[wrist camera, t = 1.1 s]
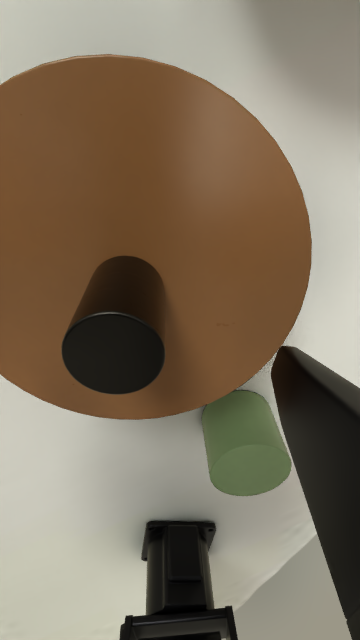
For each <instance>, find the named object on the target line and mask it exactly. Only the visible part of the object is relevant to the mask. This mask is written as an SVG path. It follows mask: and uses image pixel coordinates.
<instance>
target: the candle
mask: <svg viewBox="0 0 360 640" xmlns="http://www.w3.org/2000/svg"><path fill="white" fill-rule="evenodd" d="M202 426H203V432H204V439H205V446H206V453H207V460H208V467H209V474H210V479H211V482H212V483H213V485H214V486H215V487H216V488H217V489H219V490H220V491H222V492H224V493H227V494H230V495H235V496H252V495H257V494H261V493H265V492H267V491H270V490H272V489H274V488H276V487H277V486H279V485H280V484H281V483H282V482H283V481H285V479H286V478H287V477H288V475H289V474H290V471H291V459H290V457H289V454H288V452H287V449H286V447H285V444H284V442H283V439H282V437H281V434H280V431H279V429H278V426H277V424H276V421H275V419H274V416H273V414H272V411H271V409H270V406H269V404H268V402H267V401H266V400H265V399H264V398H263V397H262V396H260V395H258V394H256V393H254V392H250V391H232V392H230V393H229V394H227V395H225V396H223V397H221V398H219V399H217V400H216V401H214V402H212V403H209V404H208V405H207V406H206V407H205V409H204V411H203V414H202Z"/></svg>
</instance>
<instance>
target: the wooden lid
mask: <svg viewBox="0 0 360 640" xmlns="http://www.w3.org/2000/svg"><path fill="white" fill-rule="evenodd" d="M311 245H312V240H311V232H310V224H309V216H308V212H307V208H306V205H305V201H304V197H303V193H302V190H301V188H300V186H299V183H298V181H297V179H296V176H295V174H294V172H293V169H292V167H291V165H290V163H289V162H288V160H287V159H286V157H285V155H284V154H283V152H282V150H281V149H280V147H279V146H278V144H277V142H276V141H275V140H274V139H273V137H272V136H271V135H270V134H269V133H268V131H267V130H266V129H265V128H264V127H263V125H262V124H261V123H260V122H259V121H258V119H257V118H256V117H254V116H253V115H252V114H251V113H250V112H249V111H248V110H246V109H245V108H244V107H243V106H242V105H241V104H240V103H239V102H237V101H236V100H235V99H234V98H233V97H231V96H230V95H228V94H227V93H225V92H224V91H222V90H220V89H219V88H217V87H216V86H214V85H213V84H211V83H210V82H208V81H207V80H204V79H202V78H200V77H198V76H196V75H193V74H191V73H189V72H187V71H184V70H182V69H180V68H178V67H175V66H172V65H168V64H164V63H161V62H157V61H153V60H149V59H146V58H141V57H131V56H122V55H112V54H103V55H87V56H74V57H70V58H66V59H61V60H57V61H53V62H49V63H44V64H41V65H39V66H37V67H34V68H32V69H30V70H27V71H25V72H23V73H20V74H18V75H16V76H13V77H12V78H10V79H9V80H7V81H6V82H4V83H3V84H1V85H0V374H1V375H2V376H3V377H4V378H6V379H7V380H8V381H10V382H12V383H13V384H15V385H16V386H18V387H19V388H21V389H22V390H24V391H26V392H28V393H30V394H32V395H34V396H35V397H37V398H39V399H41V400H43V401H46V402H48V403H51V404H53V405H56V406H58V407H61V408H64V409H67V410H71V411H74V412H77V413H81V414H86V415H91V416H96V417H102V418H111V419H135V420H139V419H151V418H160V417H165V416H171V415H176V414H180V413H183V412H187V411H191V410H194V409H196V408H199V407H202V406H204V405H207V404H209V403H212V402H214V401H216V400H217V399H219V398H221V397H223V396H225V395H227V394H229V393H230V392H232V391H233V390H235V389H237V388H238V387H240V386H241V385H243V384H244V383H245V382H246V381H248V380H249V379H250V378H251V377H253V376H254V375H255V374H256V373H257V372H258V371H259V370H260V369H261V368H262V367H263V366H264V365H265V364H266V363H267V362H268V361H269V360H270V359H271V358H272V357H273V355H274V354H275V353H276V352H277V350H278V349H279V348H280V346H281V345H282V344H283V342H284V341H285V339H286V337H287V336H288V334H289V332H290V331H291V329H292V327H293V326H294V323H295V321H296V319H297V316H298V314H299V312H300V310H301V307H302V304H303V301H304V297H305V294H306V291H307V287H308V281H309V275H310V269H311Z"/></svg>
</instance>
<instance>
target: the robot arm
mask: <svg viewBox="0 0 360 640" xmlns="http://www.w3.org/2000/svg"><path fill="white" fill-rule="evenodd" d="M271 379H272V383H273V388H274V393H275V398H276V403H277V407H278V412H279V417H280V421H281V425H282V428H283V431H284V435H285V438H286V441H287V444H288V447H289V450H290V453H291V456H292V459H293V462H294V465H295V468H296V471H297V474H298V477H299V480H300V483H301V486H302V489H303V492H304V495H305V498H306V501H307V504H308V507H309V510H310V513H311V516H312V519H313V522H314V525H315V528H316V531H317V534H318V537H319V540H320V543H321V546H322V549H323V552H324V555H325V558H326V561H327V564H328V567H329V570H330V573H331V576H332V579H333V582H334V585H335V588H336V591H337V594H338V597H339V600H340V603H341V606H342V609H343V612H344V615H345V618H346V619H347V625H348V628H349V631H350V634H351V637H352V640H360V388H358V387H357V386H355V385H354V384H352V383H351V382H349V381H348V380H346V379H344V378H343V377H341V376H340V375H338V374H337V373H335V372H334V371H332V370H330V369H329V368H327V367H326V366H324V365H323V364H321V363H320V362H318V361H316V360H315V359H313V358H312V357H310V356H309V355H307V354H306V353H304V352H302V351H301V350H299V349H298V348H296V347H291V346H281V347H280V348H279V350H278V352H277V355H276V358H275V360H274V363H273V366H272V369H271ZM215 531H216V526H215V524H214V523H203V522H156V521H151V522H148V523H147V524H146V530H145V536H144V542H143V548H142V556H141V559H142V560H143V561H147V592H146V615H144V616H133V615H128V616H126V618H125V623H124V624H122V625H121V629H120V640H221V639H222V638H226V640H238V638H237V633H236V627H235V622H234V615H233V610H232V606H225V608H218V609H214V600H213V592H212V583H211V574H210V565H209V556H208V551H209V548H210V545H211V542H212V540H213V537H214V534H215Z"/></svg>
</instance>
